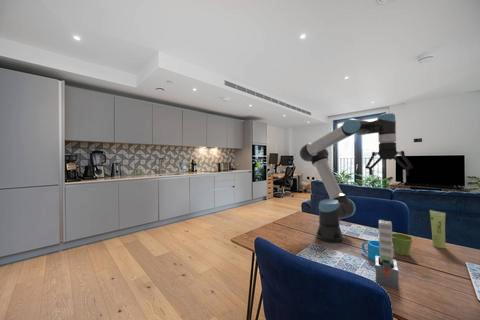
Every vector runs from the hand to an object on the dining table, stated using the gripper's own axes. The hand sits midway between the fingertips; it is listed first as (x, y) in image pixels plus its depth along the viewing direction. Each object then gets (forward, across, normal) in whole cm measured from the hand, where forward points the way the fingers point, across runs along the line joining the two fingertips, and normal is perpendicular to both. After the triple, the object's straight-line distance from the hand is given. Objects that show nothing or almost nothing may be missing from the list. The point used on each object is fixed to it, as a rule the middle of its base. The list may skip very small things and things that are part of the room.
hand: (388, 181), depth 104 cm
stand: (+37, -3, -36) cm, 51 cm away
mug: (+37, -7, -16) cm, 41 cm away
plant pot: (+37, +5, -2) cm, 37 cm away
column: (+28, -3, -36) cm, 46 cm away
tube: (+37, +22, +19) cm, 47 cm away
